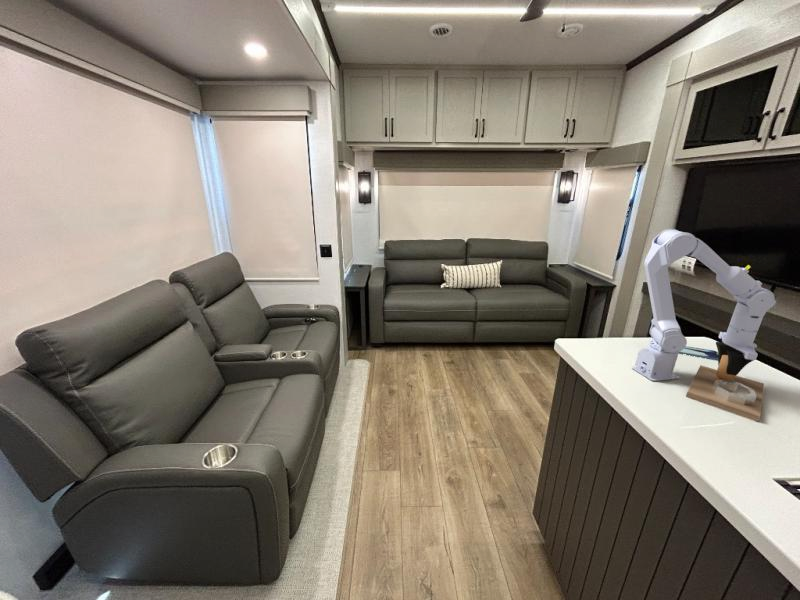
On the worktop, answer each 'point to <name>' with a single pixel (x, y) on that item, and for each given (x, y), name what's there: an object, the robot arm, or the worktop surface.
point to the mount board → (704, 393)
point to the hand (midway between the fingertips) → (727, 370)
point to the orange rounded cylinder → (724, 369)
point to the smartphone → (700, 353)
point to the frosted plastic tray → (734, 392)
